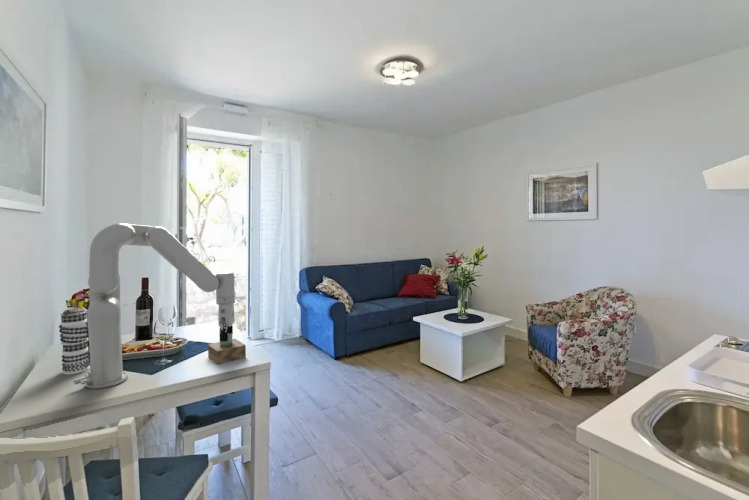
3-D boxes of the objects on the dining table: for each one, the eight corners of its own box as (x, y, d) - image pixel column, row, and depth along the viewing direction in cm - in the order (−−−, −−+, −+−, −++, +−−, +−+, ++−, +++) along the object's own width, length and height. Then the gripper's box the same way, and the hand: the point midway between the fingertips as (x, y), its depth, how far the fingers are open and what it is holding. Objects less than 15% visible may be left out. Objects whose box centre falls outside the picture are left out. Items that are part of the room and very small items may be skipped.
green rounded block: (224, 347, 151) (224, 337, 151) (217, 345, 154) (217, 335, 154) (234, 344, 155) (234, 334, 155) (228, 342, 158) (227, 332, 158)
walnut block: (217, 365, 147) (217, 351, 146) (208, 357, 155) (208, 344, 155) (245, 358, 155) (245, 345, 154) (235, 351, 163) (234, 338, 163)
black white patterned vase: (74, 365, 145) (71, 306, 143) (96, 365, 145) (94, 306, 144) (54, 374, 136) (51, 311, 134) (78, 374, 136) (75, 311, 134)
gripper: (230, 303, 146) (231, 343, 147) (238, 295, 163) (239, 331, 164) (211, 304, 144) (212, 344, 145) (221, 296, 161) (222, 332, 162)
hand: (226, 337), depth 154 cm, fingers open, 9 cm apart
